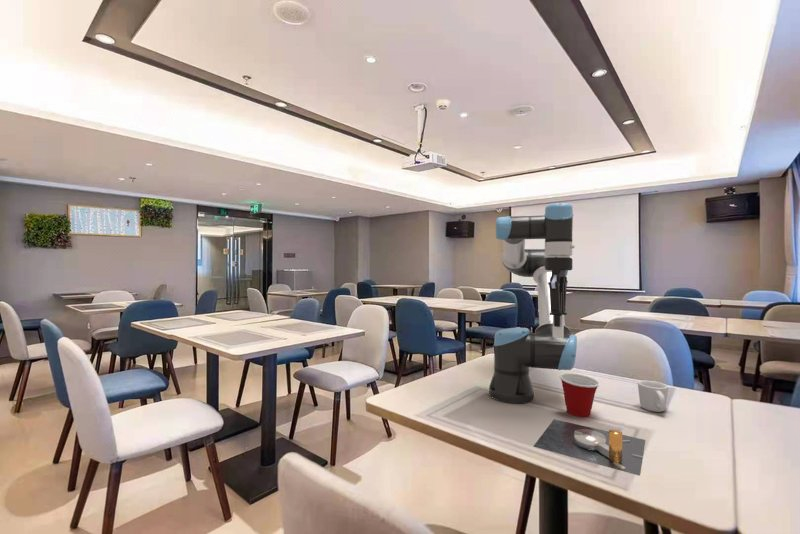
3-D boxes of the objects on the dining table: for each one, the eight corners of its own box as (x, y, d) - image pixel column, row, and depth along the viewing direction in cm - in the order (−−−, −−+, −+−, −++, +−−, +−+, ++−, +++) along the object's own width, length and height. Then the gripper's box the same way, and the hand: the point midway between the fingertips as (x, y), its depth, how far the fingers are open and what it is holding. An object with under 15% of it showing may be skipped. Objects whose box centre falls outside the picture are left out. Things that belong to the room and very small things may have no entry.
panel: (533, 452, 93) (533, 445, 93) (553, 424, 109) (554, 418, 109) (639, 482, 80) (640, 474, 80) (645, 445, 96) (645, 439, 96)
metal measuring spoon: (567, 438, 96) (567, 414, 96) (591, 435, 98) (591, 411, 98) (606, 464, 84) (607, 436, 84) (633, 460, 85) (633, 432, 85)
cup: (677, 418, 113) (677, 391, 113) (647, 416, 115) (648, 390, 114) (660, 405, 124) (660, 381, 123) (633, 403, 125) (633, 379, 125)
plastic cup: (592, 429, 106) (592, 386, 106) (553, 418, 113) (553, 377, 113) (604, 418, 113) (605, 378, 113) (567, 408, 121) (568, 370, 121)
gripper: (567, 256, 104) (566, 342, 104) (576, 257, 115) (576, 335, 115) (539, 256, 108) (538, 339, 109) (550, 257, 119) (550, 332, 119)
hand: (558, 337), depth 112 cm, fingers closed
